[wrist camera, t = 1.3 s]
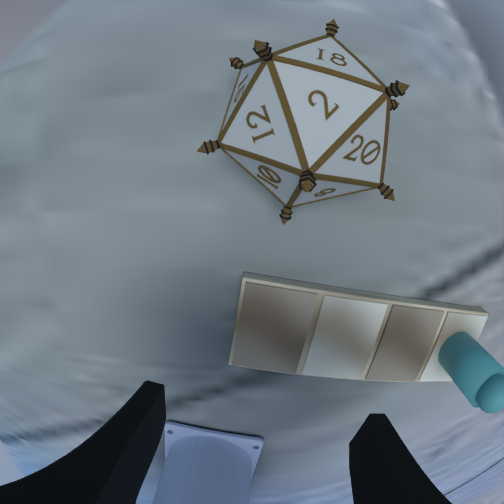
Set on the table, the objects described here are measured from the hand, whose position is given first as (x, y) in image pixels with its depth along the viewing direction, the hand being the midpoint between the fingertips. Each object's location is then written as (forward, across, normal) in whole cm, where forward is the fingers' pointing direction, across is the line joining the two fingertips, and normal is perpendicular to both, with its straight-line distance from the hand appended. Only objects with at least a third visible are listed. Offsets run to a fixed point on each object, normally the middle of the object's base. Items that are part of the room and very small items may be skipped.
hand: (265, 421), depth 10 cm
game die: (+11, 0, -9) cm, 14 cm away
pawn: (+8, -14, +2) cm, 16 cm away
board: (+10, -7, +2) cm, 12 cm away
